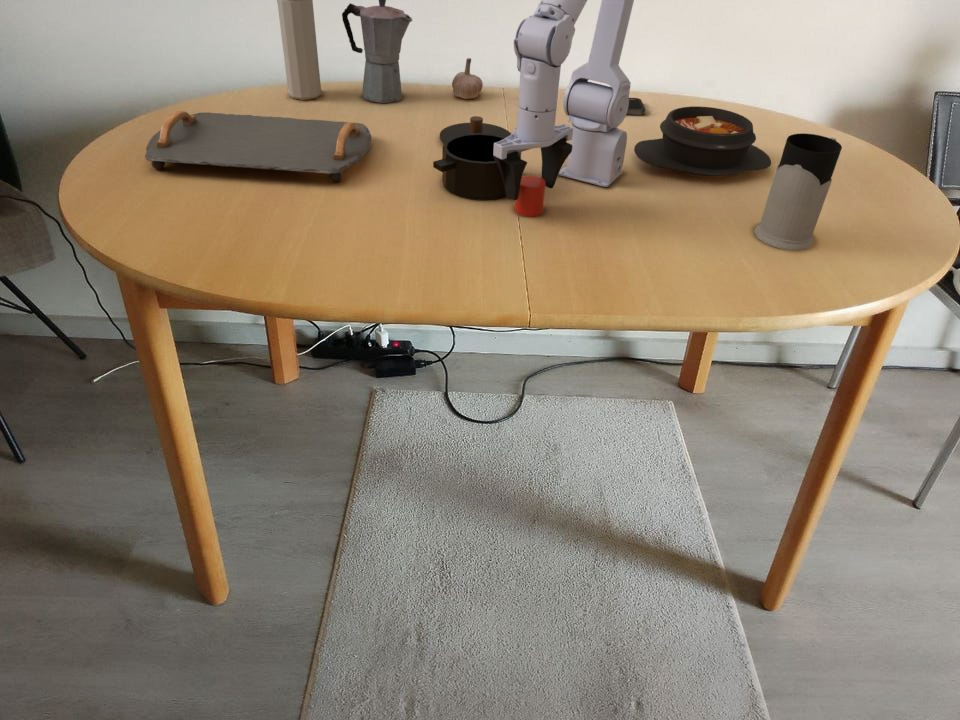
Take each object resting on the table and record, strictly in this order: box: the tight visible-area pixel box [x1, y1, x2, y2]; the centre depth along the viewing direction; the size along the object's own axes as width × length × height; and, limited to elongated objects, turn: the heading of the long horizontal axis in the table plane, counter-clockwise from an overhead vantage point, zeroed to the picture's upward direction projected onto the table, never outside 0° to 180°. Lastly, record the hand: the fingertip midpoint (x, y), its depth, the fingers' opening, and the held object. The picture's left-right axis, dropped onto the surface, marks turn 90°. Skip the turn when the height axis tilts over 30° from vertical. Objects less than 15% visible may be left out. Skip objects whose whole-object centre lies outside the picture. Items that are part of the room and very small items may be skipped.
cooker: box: [432, 133, 522, 201], centre depth 123 cm, size 13×18×6 cm
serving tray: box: [144, 110, 373, 184], centre depth 129 cm, size 39×23×6 cm, turn 85°
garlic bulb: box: [451, 57, 484, 100], centre depth 158 cm, size 8×7×8 cm
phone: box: [626, 97, 646, 116], centre depth 157 cm, size 8×1×15 cm
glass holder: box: [754, 132, 843, 251], centre depth 110 cm, size 9×14×15 cm, turn 137°
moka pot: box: [341, 0, 413, 104], centre depth 152 cm, size 10×15×20 cm, turn 78°
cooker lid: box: [439, 115, 512, 144], centre depth 139 cm, size 14×14×4 cm
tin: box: [514, 174, 546, 218], centre depth 116 cm, size 5×5×5 cm
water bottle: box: [276, 0, 322, 101], centre depth 150 cm, size 9×8×25 cm
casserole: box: [633, 105, 772, 177], centre depth 132 cm, size 25×19×8 cm
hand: (529, 191), depth 115 cm, fingers open, 7 cm apart
